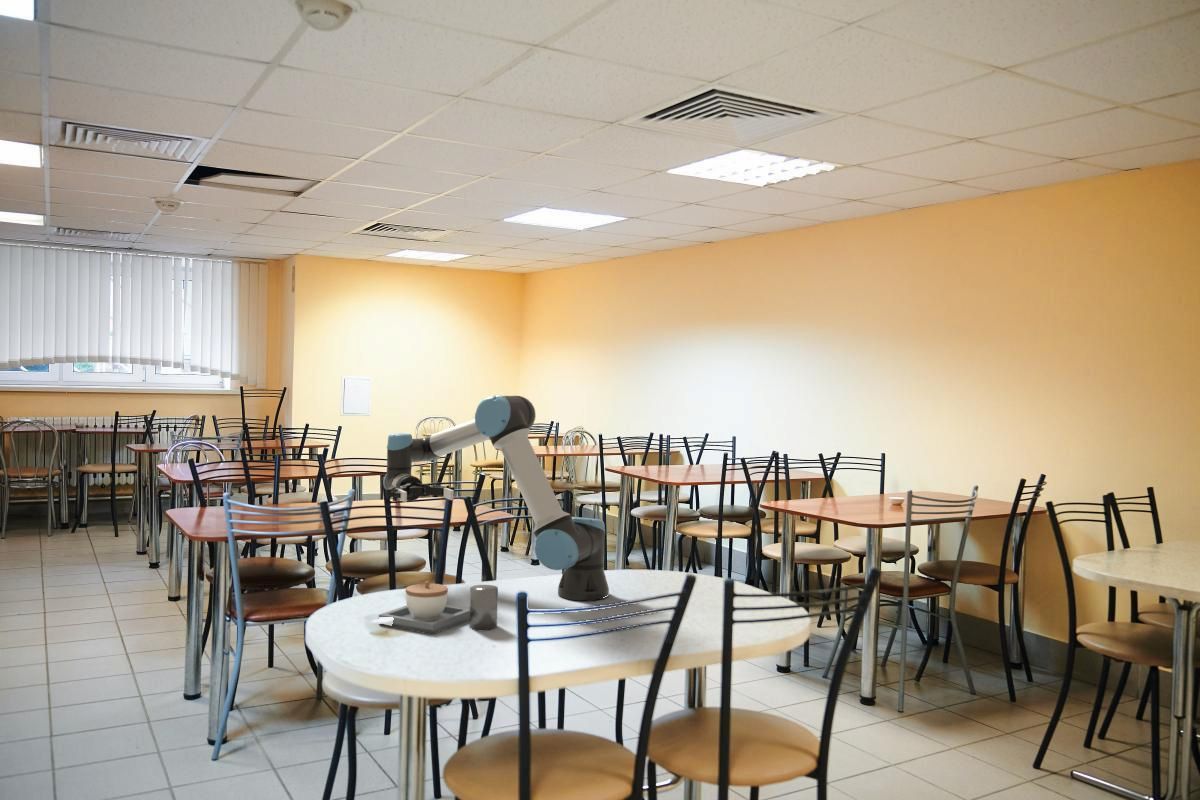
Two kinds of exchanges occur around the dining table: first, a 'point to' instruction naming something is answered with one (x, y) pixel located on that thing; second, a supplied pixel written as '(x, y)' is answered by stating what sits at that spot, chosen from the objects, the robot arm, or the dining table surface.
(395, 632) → the dining table surface
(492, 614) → the metal tin
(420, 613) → the lidded jar
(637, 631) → the dining table surface
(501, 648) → the dining table surface
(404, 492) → the robot arm
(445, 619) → the tray
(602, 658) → the dining table surface
